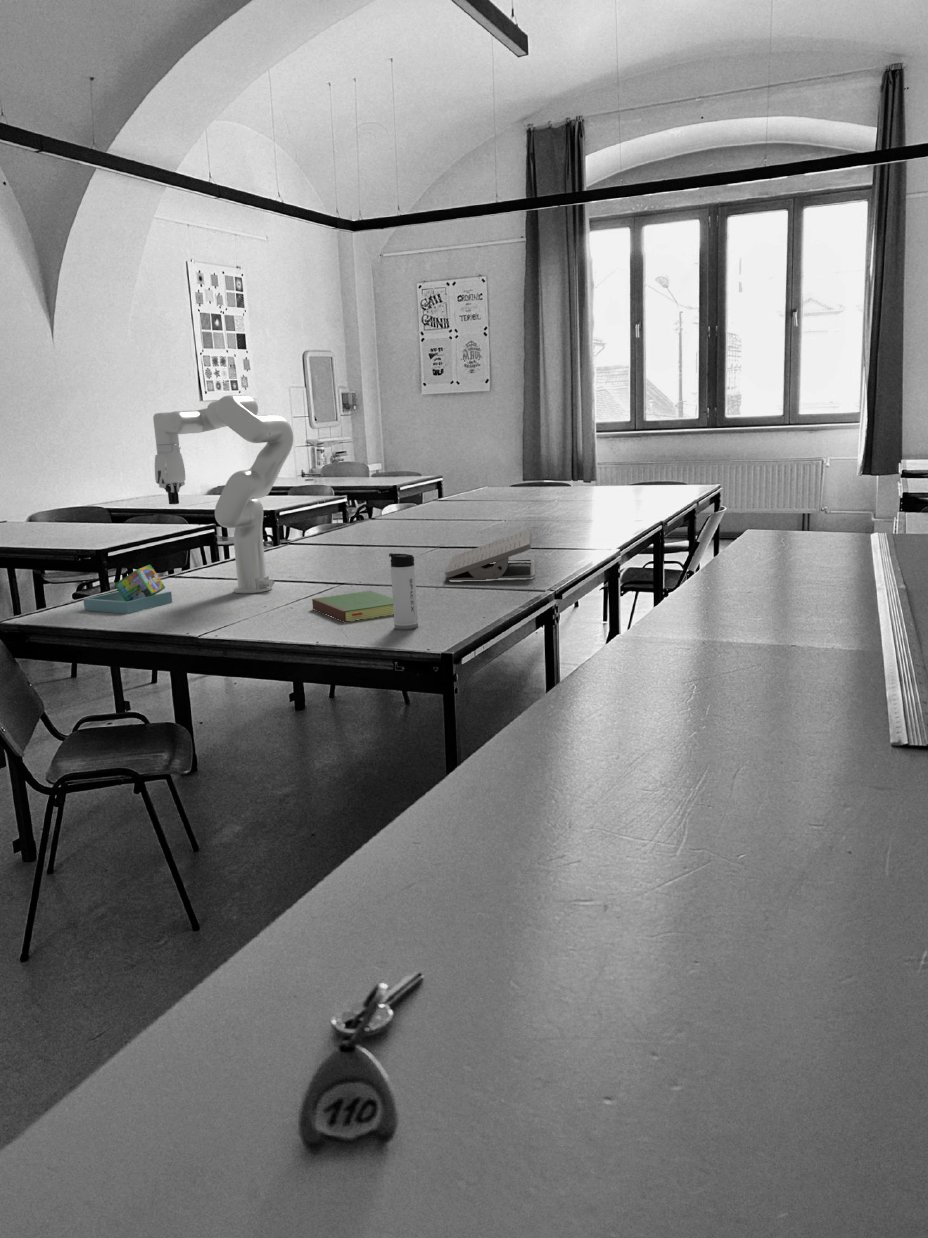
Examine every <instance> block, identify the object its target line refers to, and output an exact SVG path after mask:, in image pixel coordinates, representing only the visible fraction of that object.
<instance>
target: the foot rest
mask: <svg viewBox="0 0 928 1238" xmlns="http://www.w3.org/2000/svg"><path fill="white" fill-rule="evenodd" d="M530 549H532V533H531V530H524V531H521V532H519V533H516V534H513V535H510V536H507V537H504V538H501V539H499V540H496V541H493V542H490V543H487V544H484V545H481V546H479V547H475V548H472V549H470V550H467V551H464V552H461V553H459V554H456V555H454V556H452V557H451V560H450V561H449V563H448V565H447V567H446V569H445V571H444V574H445V577H446V578H448V581H449V580H486V579H498V578H531V577H534V576H535V577H536V566H535V565H536V564H535V562H536V560H535V559H531V558H519V559H509V558H510V557H513V556H516V555H519V554H522V553H524V552H527V551H530ZM508 561H531V564H530V566H529V567H530V569H529V570H530V574H526V575H524V574H523V575H522V574H521V575H504V574H505V572H506V571H507V568H508V566H509V564H508ZM493 562H496V563H495V564H494V565H491V566H488V565H487V564H490V563H493ZM484 566H488V567H484ZM499 567H501V569H500V568H499ZM466 572H468V573H469V574H470V576H471V577H470V576H468V577H454V576H457V575H462V574H464V573H466Z"/></svg>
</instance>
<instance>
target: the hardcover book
mask: <svg viewBox="0 0 928 1238" xmlns="http://www.w3.org/2000/svg"><path fill="white" fill-rule="evenodd" d="M311 600H312V601H311V602H312V610H313V609H315V610H317V611H316V612H318V611H320V612H321V613H320V612H319V613H320V614H322V613H324V614H323V615H325V614H327V615H329V616H328V617H330V616H332V617H334V618H336V619H335V620H337V619H339V620H341V621H344V622H346V621H351V622H354V621H353V620H357V619H364V620H367V619H366V618H371V619H376V618H375V617H377V618H380V617H379V616H384V617H388V616H387V615H390V616H392V615H391V614H394V609H393V597H390V596H387V595H384V594H381V593H378V592H375V591H371V590H366V591H360V592H352V593H344V594H337V595H330V596H324V597H317V598H312V599H311ZM315 610H314V611H315ZM327 615H326V616H327ZM332 617H331V618H332ZM334 618H333V619H334ZM339 620H338V621H339ZM341 621H340V622H341ZM344 622H343V623H344ZM346 623H347V622H346Z"/></svg>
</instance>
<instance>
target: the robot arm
mask: <svg viewBox="0 0 928 1238" xmlns="http://www.w3.org/2000/svg"><path fill="white" fill-rule="evenodd" d="M258 411H259V406H258V403H257V401H256V400H255V399H254V398H253V397H251V396H249V395H245V394H243V395H242V394H238V395H236V394H235V395H233V394H232V395H231V394H230V395H224V396H223V397H221V398H220V399H218V400H215V401H211V402H210V403H209V404H208V405H207V407H205V408H201V409H197V410H177V411H171V412H169V411H168V412H157V413H154V415H153V417H152V418H153V420H152V421H153V427H154V428H153V429H154V438H155V445H156V446H155V448H156V454H155V455H154V477H155V478H154V480H155V483H156V484H158V488H160V489H164V490H165V493H167V495H168V496H167V499H168V504H169V505H178V504H180V499H179V498H180V497H179V492H180V489H181V488H182V487H183V486H185V485H186V484H185V481H186V468H185V463H184V459H183V455H182V453H181V448H182V447H181V445H180V439H179V435H187V434H201V433H204V432H211V431H213V430H216V429H217V430H218V429H221V428H225V427H229V428H230V429H231V430H232V431H233V432H234V433H236V434H237V435H239V436H240V437H241V438H242V439H244V440H245V441H247V442H249V443H252V444H261V443H266V444H265V445H264V447H262V449H260V451H259V452H258V454H257V455H256V457H255V460H254V462H253V464H252V465H251V467H250V468H248V469H244V470H238V471H236V472H233V474H232V475H231V476H229V478H228V480H227V481H226V483H225V485H224V487H223V489H222V491H221V494H220V495H219V498H218V500H217V502H216V505H215V509H214V518H215V521H216V522H217V524H218V525H220V527H223V528H226V529H233V528H234V532H233V547H234V557H235V558H234V559H235V567H236V570H235V571H236V578H237V579H236V581H237V586H235V587H234V588H233V592H234V593H237V594H257V593H263V592H268V591H271V590H272V588H273V585H275V582H276V581H275V580H274V579H273V580H272V579H270V577H269V575H267V572H266V561H265V547H264V537H263V522H264V507H263V506H264V505H263V504H262V502H261V501H260V499H262V498H265V497H267V496H268V495H269V494H270V492H271V490H272V489H273V487H274V484H275V482H276V480H277V479H278V477H279V475H280V473H281V470H282V468H283V467H284V464H285V461H286V460H287V458H288V457H289V455H290V453H291V450H292V448H293V445H294V434H293V429H292V426H291V424H290V423H289V421H288V420H287V419H286V418H284V417H283V416H280V415H277V414H263V415H262V414H261V415H257V414H258V413H259V412H258Z"/></svg>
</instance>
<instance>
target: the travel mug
mask: <svg viewBox="0 0 928 1238" xmlns="http://www.w3.org/2000/svg"><path fill="white" fill-rule="evenodd" d="M388 557H389V558H390V568H391V569H390V575H391V576H390V577H391V589H392V598H393V609H394V615H393V621H394V625H393V626H394V629H396V630H399V631H402V630H403V631H406V630H413V628H414V629H417V628H418V627H419V620H418V619H419V617H418V603H417V602H418V601H417V599H418V598H417V584H416V569H415V556H414V555H412V554H410V553H409V554H407V553H393V552H392V553H391V552H390V553H389V554H388Z"/></svg>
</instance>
